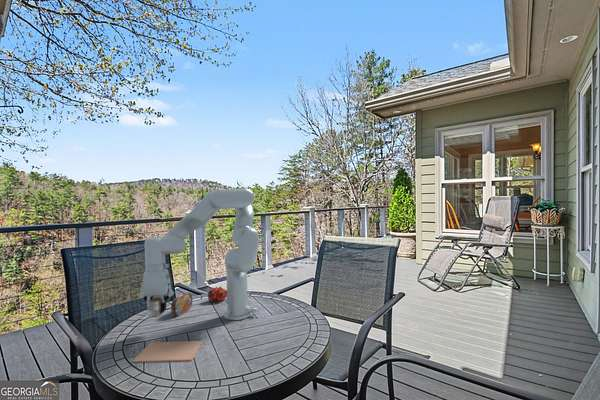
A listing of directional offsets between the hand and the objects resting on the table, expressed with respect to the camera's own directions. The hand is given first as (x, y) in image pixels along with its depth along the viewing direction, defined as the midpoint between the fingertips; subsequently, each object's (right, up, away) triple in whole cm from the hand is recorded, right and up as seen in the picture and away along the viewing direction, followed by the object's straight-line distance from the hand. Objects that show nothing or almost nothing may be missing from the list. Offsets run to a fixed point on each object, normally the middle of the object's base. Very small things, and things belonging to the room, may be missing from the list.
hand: (157, 311), depth 131 cm
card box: (0, -1, 0) cm, 1 cm away
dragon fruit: (+14, -9, +41) cm, 45 cm away
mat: (+11, -10, -15) cm, 21 cm away
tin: (+1, -9, +25) cm, 27 cm away
